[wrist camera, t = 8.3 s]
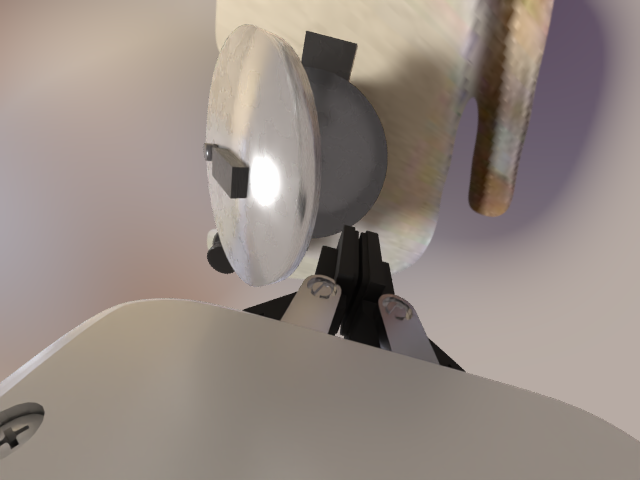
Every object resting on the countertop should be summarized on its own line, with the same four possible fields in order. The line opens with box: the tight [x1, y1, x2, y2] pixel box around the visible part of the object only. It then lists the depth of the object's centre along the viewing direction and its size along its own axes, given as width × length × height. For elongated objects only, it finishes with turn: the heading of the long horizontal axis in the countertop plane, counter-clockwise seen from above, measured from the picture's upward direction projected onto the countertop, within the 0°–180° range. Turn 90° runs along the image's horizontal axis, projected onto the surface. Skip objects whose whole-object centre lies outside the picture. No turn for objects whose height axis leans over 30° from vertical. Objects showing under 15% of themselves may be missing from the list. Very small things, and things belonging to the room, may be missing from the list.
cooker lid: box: [204, 24, 322, 287], centre depth 20 cm, size 19×19×3 cm
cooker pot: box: [301, 31, 387, 251], centre depth 32 cm, size 24×18×12 cm
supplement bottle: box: [207, 232, 235, 274], centre depth 40 cm, size 7×7×12 cm
